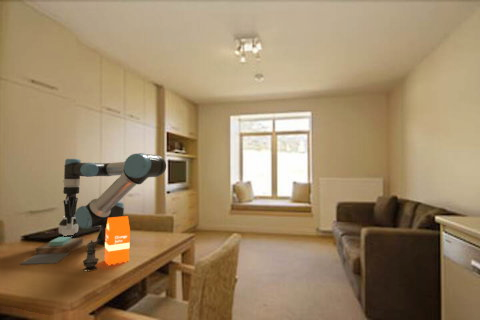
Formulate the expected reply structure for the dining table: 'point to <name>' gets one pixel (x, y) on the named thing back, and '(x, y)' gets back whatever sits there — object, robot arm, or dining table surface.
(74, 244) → the brown flat block
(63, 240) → the card
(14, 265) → the dining table surface
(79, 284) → the dining table surface
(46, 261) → the mat
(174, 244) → the dining table surface
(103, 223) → the robot arm
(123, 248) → the orange juice
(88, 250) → the black chess piece
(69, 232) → the spread jar
